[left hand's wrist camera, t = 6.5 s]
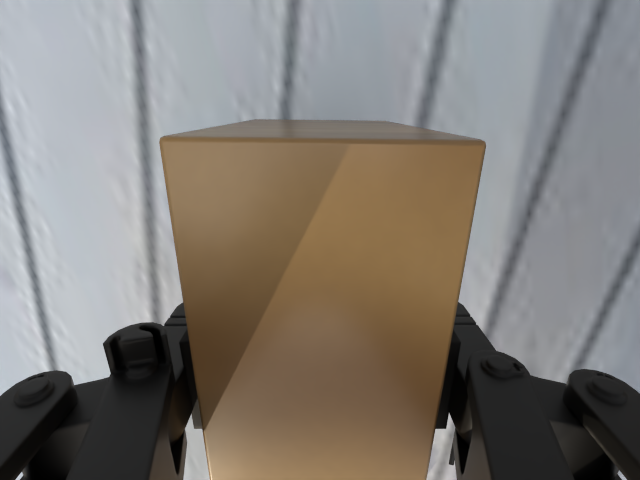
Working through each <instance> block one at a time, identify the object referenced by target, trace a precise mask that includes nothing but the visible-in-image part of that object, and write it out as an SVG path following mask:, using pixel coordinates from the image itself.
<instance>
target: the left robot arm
mask: <svg viewBox="0 0 640 480" xmlns="http://www.w3.org/2000/svg"><path fill="white" fill-rule="evenodd" d="M103 346H104V350H105V353H106V357H107V361H108V364H109V368H110V372H111V374H110V377H108V378H104V379H101V380H96V381H92V382H87V383H83V384H78V385H74V383H73V380H72V377H71V376H70V375H69V374H68V373H67V372H63V371H49V372H43V373H40V374H37V375H33V376H31V377H28V378H27V379H25V380H23V381H21V382H19V383H17V384H15V385H14V386H13V387H11V388H10V389H8V390H7V391H6V392H4V393H3V394H2V395H1V396H0V480H15V479H16V478H17V477H18V475H19V474H20V473H21V472H23V477H22V478H21V479H20V480H183V476H184V467H185V458H186V448H187V439H186V432H185V427H186V425H187V422H188V420H189V418H190V415H191V413H192V419H193V425H194V429H202V423H201V416H200V409H199V403H198V396H197V389H196V383H195V376H194V369H193V363H192V356H191V349H190V343H189V336H188V329H187V323H186V316H185V309H184V303H182V304H180V305H179V306H177V307H176V309H175V310H174V312H173V313H172V314H171V316H170V318H169V319H168V320H167V321H166V323H165V324H164V326H162V325H161V324H157V323H153V322H151V323H139V324H134V325H130V326H127V327H125V328H123V329H120V330H118V331H117V332H115V333H114V334H112V335H111V336H109V337H108V338H107V340H106V341H105V342H104V343H103ZM449 413H450V415H451V418H452V420H453V423H454V425H455V432H454V438H453V443H452V448H451V454H450V460H449V464H450V465H454V460H455V466H456V475H457V480H622V479H621V478H620V477H619V476H618V474H617V473H618V471H619V470H620V471H621V473H622V474H623V475H624V476H625V478H626V479H627V480H640V394H639V393H638V392H637V391H636V390H635V389H633V388H632V387H630V386H629V385H628V384H626V383H625V382H623V381H621V380H619V379H617V378H615V377H613V376H612V375H609V374H606V373H603V372H599V371H595V370H588V369H581V370H575V371H573V372H572V373H571V374H570V375H569V378H568V381H567V384H564V383H560V382H555V381H551V380H546V379H542V378H538V377H534V376H531V375H530V374H529V372H528V371H527V369H526V368H525V366H524V365H523V364H521V363H520V362H519V361H518V360H516V359H515V358H513V357H511V356H509V355H507V354H505V353H502V352H498V351H496V350H495V348H494V347H493V346H492V344H491V343H490V342H489V340H488V339H487V337H486V336H485V335H484V333H483V332H482V331H481V329H480V328H479V326H478V325H476V322H475V321H474V320H473V318H472V317H470V314H469V313H468V311H467V310H466V309H465V307H464V306H463V305H462V304H460V303H459V302H458V305H457V310H456V316H455V321H454V327H453V333H452V338H451V344H450V349H449V355H448V361H447V366H446V372H445V377H444V383H443V389H442V394H441V400H440V405H439V411H438V416H437V422H436V428H435V429H446V426H447V420H448V414H449Z"/></svg>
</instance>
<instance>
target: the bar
mask: <svg viewBox="0 0 640 480" xmlns="http://www.w3.org/2000/svg"><path fill="white" fill-rule="evenodd" d="M159 143H160V150H161V156H162V163H163V170H164V176H165V183H166V190H167V196H168V203H169V210H170V216H171V223H172V230H173V236H174V243H175V250H176V256H177V263H178V270H179V276H180V283H181V289H182V296H183V303H184V309H185V316H186V323H187V329H188V336H189V343H190V349H191V356H192V363H193V369H194V376H195V383H196V389H197V396H198V403H199V409H200V416H201V423H202V429H203V436H204V443H205V449H206V456H207V463H208V469H209V476H210V480H426V478H427V472H428V467H429V461H430V456H431V450H432V444H433V439H434V433H435V428H436V422H437V416H438V411H439V405H440V400H441V394H442V389H443V383H444V377H445V372H446V366H447V361H448V355H449V349H450V344H451V338H452V333H453V327H454V321H455V316H456V310H457V305H458V299H459V294H460V288H461V282H462V277H463V271H464V266H465V260H466V254H467V249H468V243H469V238H470V232H471V226H472V221H473V215H474V210H475V204H476V198H477V193H478V187H479V182H480V176H481V171H482V165H483V159H484V154H485V148H486V144H485V141H483V140H480V139H475V138H470V137H465V136H459V135H454V134H449V133H444V132H439V131H434V130H429V129H424V128H418V127H413V126H408V125H403V124H398V123H393V122H388V121H347V120H266V119H255V120H249V121H244V122H238V123H233V124H227V125H222V126H216V127H211V128H205V129H200V130H194V131H189V132H183V133H178V134H172V135H167V136H163V137H161V138H160V142H159Z"/></svg>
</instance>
